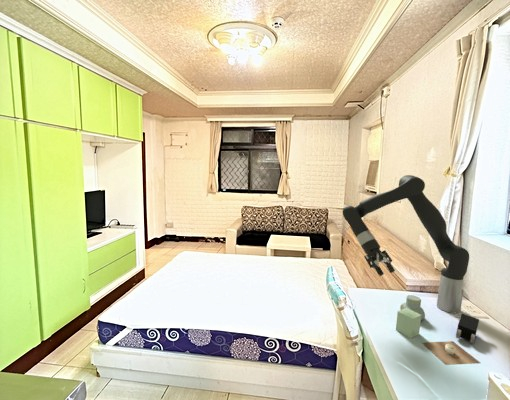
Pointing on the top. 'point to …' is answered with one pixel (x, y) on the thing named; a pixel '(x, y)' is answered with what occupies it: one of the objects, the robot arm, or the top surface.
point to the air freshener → (413, 305)
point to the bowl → (449, 349)
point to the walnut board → (447, 359)
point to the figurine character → (467, 328)
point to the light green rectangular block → (408, 322)
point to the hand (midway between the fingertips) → (387, 273)
